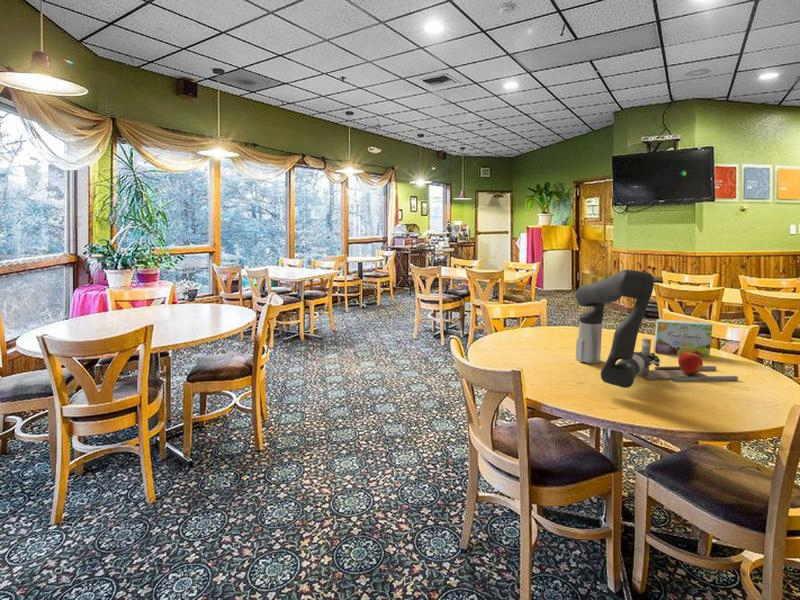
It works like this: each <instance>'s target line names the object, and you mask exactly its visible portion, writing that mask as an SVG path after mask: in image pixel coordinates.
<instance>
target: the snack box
mask: <svg viewBox="0 0 800 600" xmlns="http://www.w3.org/2000/svg"><path fill="white" fill-rule="evenodd" d="M655 321H656V322H655V332H654V342H653V345H654V346H653V350H654V354H655V353H656V354H663V355H664V354H665V355H666V354H667V355H668V354H669V355H674V356H675V355H677V356H680V355H681V354H682V353H685V352H691V353H694V354H696V355H698V356H699V357H701V358H702V357H703V358H709V357H710V354H711V353H710V352H711V345H712V337H713V336H712V335H713V324H712V323H710V322H709V321H708V322H707V321H706V322H705V321H689V320H688V321H687V320H673V319H658V318H657V319H656V320H655ZM693 349H694V351H693Z"/></svg>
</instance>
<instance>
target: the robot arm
mask: <svg viewBox="0 0 800 600" xmlns="http://www.w3.org/2000/svg"><path fill="white" fill-rule="evenodd" d="M654 286H655V280H654V276H653V274H652V273H650V272H646V271H642V270H641V271H640V270H635V269H634V270H633V269H622V270H620V271H619V272H616V273H615V274H614V275H612V276H609V277H607V278H604V279H600V280H598V281H596V282H593V283H591V284H585V285H584V284H583V285H580V286H579V287H578V288H577V289H576V293H575V301H576V302H577V304H578V305H579V306H580V307H588V308H589V307H592V308H591V309H590V310H588V311H587V312H586V311H585V312H584V313H582V314H579V320H578V337H577V338H576V346H575V347H576V348H575V359H576V358H577V359H578V360H579V361H580V362H579V361H578V360H577V359H576V360H577V361H578V362H579V363H581V362H586V363H585V364H599V363H601V352H602V351H601V350H602V333H603V332H602V331H603V318H604V313H605V304H609V303H613V302H617V301H618V300H620V299H621V298H622V297H625V298H630V299H636V300H635V302H634V303H635V304H634V306H633V308H632V310H631V312H630V313H629V314H628V315H627V316H626V317H625V318H624V319H623V321H622V322H620V324H619V325H618V326H617V328H616V329H615V332H614V334H613V338H612V344H611V349H610V351H609V354H608V356H607V359H606V361H605V362H604V365H603V366H602V369H601V371H600V379H601V380H602V381H603V382H604V383H605V384H609V385H613V386H616V387H619V388H624V389H625V388H626V389H627V388H631V387H632V386H633V384H634V382H635V378H636V377H637V376H640V375H639V374H640V373H641V372H643V371H644V370H645V369H646V368H647V367H648V365H649V366H651V365H653V366H655V367H660V360H661V359H660V358H659V356H658V355H656V354H655V352H650V354H649V355H648V354H646V355H643V354H642V353H641V352H642V350H641V351H635V348H636V344H637V343H636V342H637V338H638V334H639V331H640V327H641V325H642V322H643V319H644V318H645V317H644V316H645V314H646V311H647V309H648V307H649V304H650V299H651V297H652V293H653V291H654Z"/></svg>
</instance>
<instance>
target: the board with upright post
mask: <svg viewBox="0 0 800 600" xmlns="http://www.w3.org/2000/svg"><path fill="white" fill-rule="evenodd" d="M651 345H652V339H651V338H642V342H641V351H642V352H641V351H640V352H641V353H642V354H643V355H646V354H648V355H649V354H651ZM638 376H640V377H642V378H643V379H644V380H646V381H672V377H686V376H707V374H704V373H702V372H700V371H699V372H698V373H696V374H686V373H684V372H683V371H682V370H654V369H651V370H650V365H648V367H647V368H646V369H645V370H644V371H643V372H641V373H640V374H639V375H638Z"/></svg>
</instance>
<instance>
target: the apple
mask: <svg viewBox="0 0 800 600" xmlns="http://www.w3.org/2000/svg"><path fill="white" fill-rule="evenodd" d="M693 351H694V349H693ZM677 359H678V360H677V362H678V366H679V367H680V369H681V370H682V371H683V372H684V373H686V374H696V373H698V372H700V370H701V369H702V366H703V365H704V363H703V359H702V357H699V356H698V355H696V354H694V353H691V352H685V353H682V354H681V355H678V358H677Z"/></svg>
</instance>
